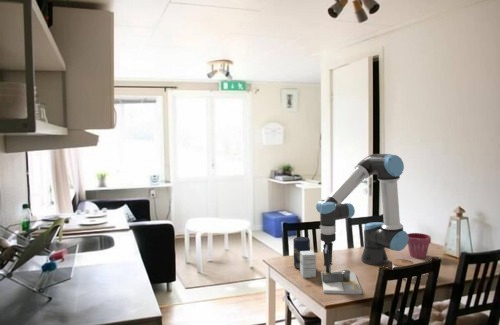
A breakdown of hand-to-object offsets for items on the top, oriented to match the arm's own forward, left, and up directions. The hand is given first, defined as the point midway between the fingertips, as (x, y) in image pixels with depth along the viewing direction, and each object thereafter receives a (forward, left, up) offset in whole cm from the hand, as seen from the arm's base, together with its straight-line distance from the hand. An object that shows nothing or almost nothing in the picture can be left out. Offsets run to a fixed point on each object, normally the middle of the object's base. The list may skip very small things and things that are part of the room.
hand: (328, 277), depth 204 cm
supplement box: (+10, -11, -3) cm, 15 cm away
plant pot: (-58, -48, -3) cm, 75 cm away
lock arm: (-4, +2, -1) cm, 5 cm away
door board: (-6, 0, -3) cm, 7 cm away
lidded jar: (-40, -12, -3) cm, 42 cm away
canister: (+13, -24, -3) cm, 27 cm away
